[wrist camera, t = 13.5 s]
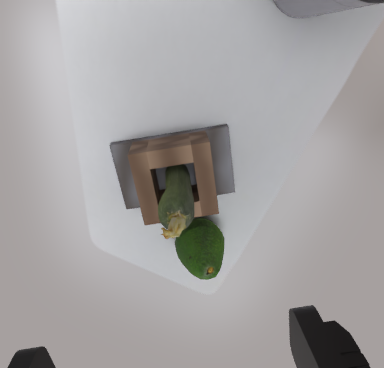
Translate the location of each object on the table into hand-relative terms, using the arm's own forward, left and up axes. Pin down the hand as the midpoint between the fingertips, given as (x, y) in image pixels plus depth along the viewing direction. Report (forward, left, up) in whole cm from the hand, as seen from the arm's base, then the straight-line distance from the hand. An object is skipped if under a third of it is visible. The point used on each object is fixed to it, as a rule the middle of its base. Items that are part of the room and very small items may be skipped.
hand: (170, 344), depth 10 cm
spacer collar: (+1, +9, -40) cm, 41 cm away
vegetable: (+1, +9, -39) cm, 40 cm away
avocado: (-1, +21, -40) cm, 45 cm away
